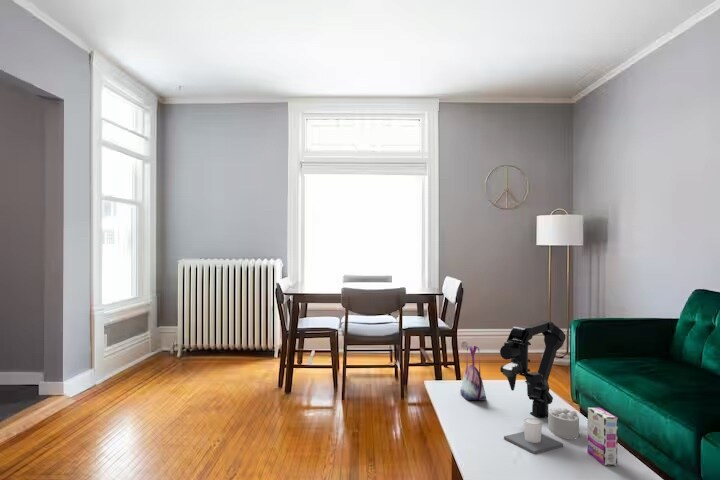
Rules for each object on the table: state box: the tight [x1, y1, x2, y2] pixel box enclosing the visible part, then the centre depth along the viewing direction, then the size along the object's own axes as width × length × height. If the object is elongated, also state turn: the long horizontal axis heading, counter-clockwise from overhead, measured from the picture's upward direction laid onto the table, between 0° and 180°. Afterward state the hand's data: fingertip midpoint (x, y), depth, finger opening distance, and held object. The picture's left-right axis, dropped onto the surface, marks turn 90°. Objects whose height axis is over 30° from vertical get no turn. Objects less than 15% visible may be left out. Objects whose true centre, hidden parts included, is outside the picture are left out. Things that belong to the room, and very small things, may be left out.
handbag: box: [459, 345, 487, 401], centre depth 238 cm, size 21×10×25 cm, turn 6°
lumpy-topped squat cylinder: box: [547, 407, 580, 440], centre depth 193 cm, size 10×13×9 cm
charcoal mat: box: [503, 431, 564, 455], centre depth 183 cm, size 15×15×1 cm
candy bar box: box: [586, 406, 619, 467], centre depth 170 cm, size 11×5×16 cm, turn 4°
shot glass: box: [523, 417, 543, 443], centre depth 184 cm, size 7×7×7 cm
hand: (520, 393), depth 205 cm, fingers open, 9 cm apart
